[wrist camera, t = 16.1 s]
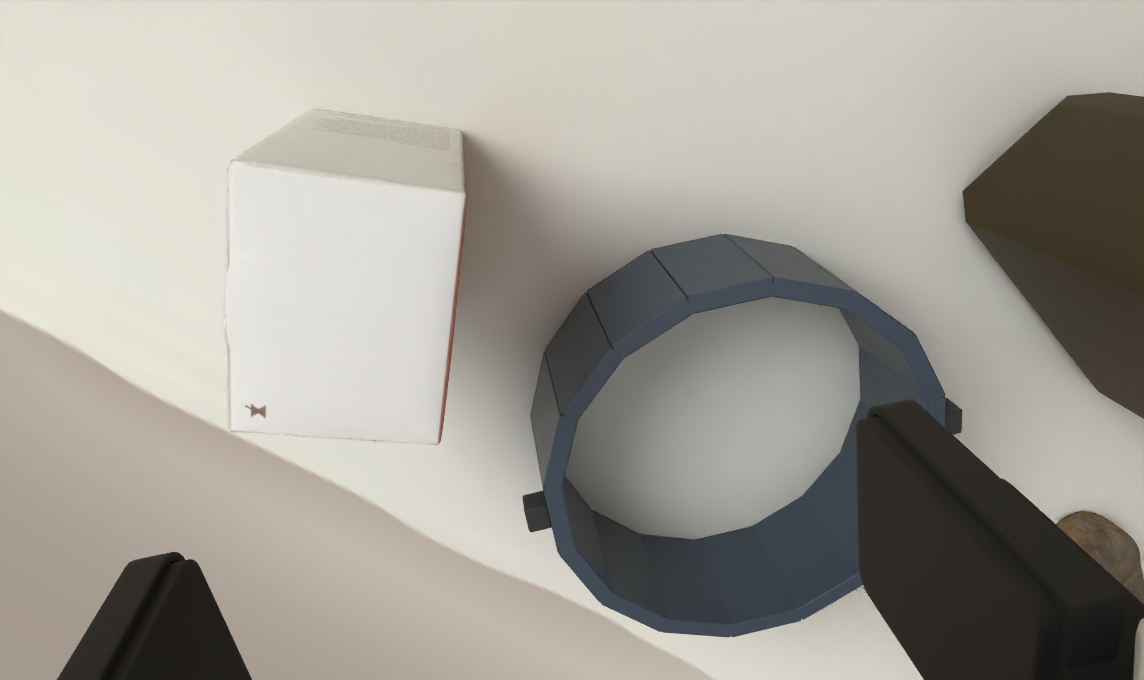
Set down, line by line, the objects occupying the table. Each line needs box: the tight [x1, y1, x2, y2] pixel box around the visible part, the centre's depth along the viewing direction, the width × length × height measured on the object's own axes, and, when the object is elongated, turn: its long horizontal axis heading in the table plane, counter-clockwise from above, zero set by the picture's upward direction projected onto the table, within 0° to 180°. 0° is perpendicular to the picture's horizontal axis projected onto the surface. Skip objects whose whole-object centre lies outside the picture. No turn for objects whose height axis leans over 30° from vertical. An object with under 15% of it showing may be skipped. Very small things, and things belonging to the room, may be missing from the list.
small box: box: [224, 109, 467, 445], centre depth 28 cm, size 8×6×13 cm
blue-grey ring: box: [523, 234, 962, 637], centre depth 37 cm, size 18×20×6 cm
